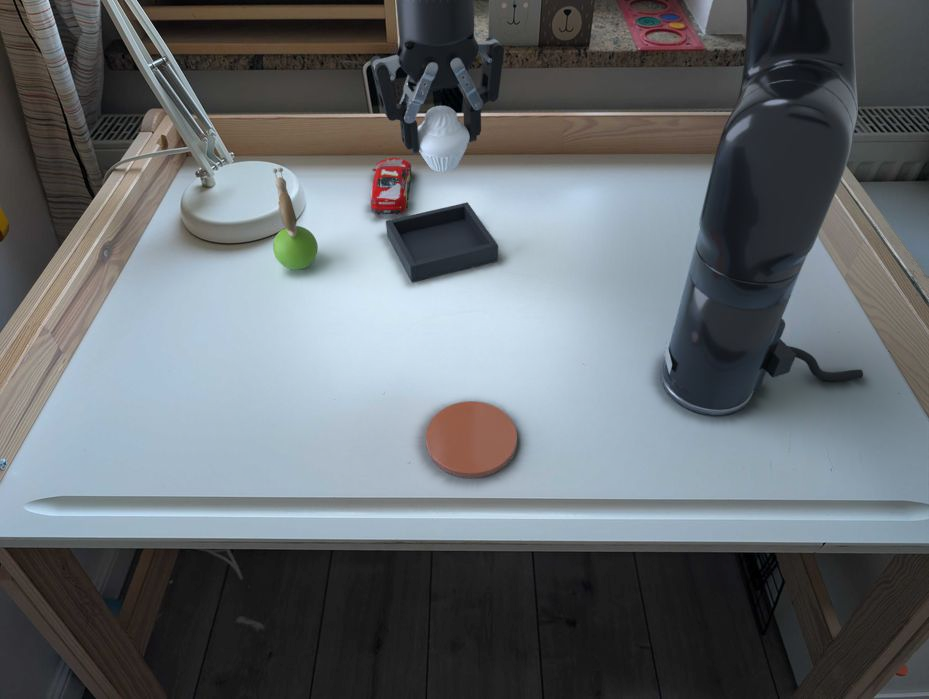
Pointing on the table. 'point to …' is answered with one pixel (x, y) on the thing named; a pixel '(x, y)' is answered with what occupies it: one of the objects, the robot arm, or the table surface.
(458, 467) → the plate
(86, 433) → the table surface
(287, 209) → the snail figurine
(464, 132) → the muffin
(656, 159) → the table surface
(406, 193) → the race car
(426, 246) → the tray
